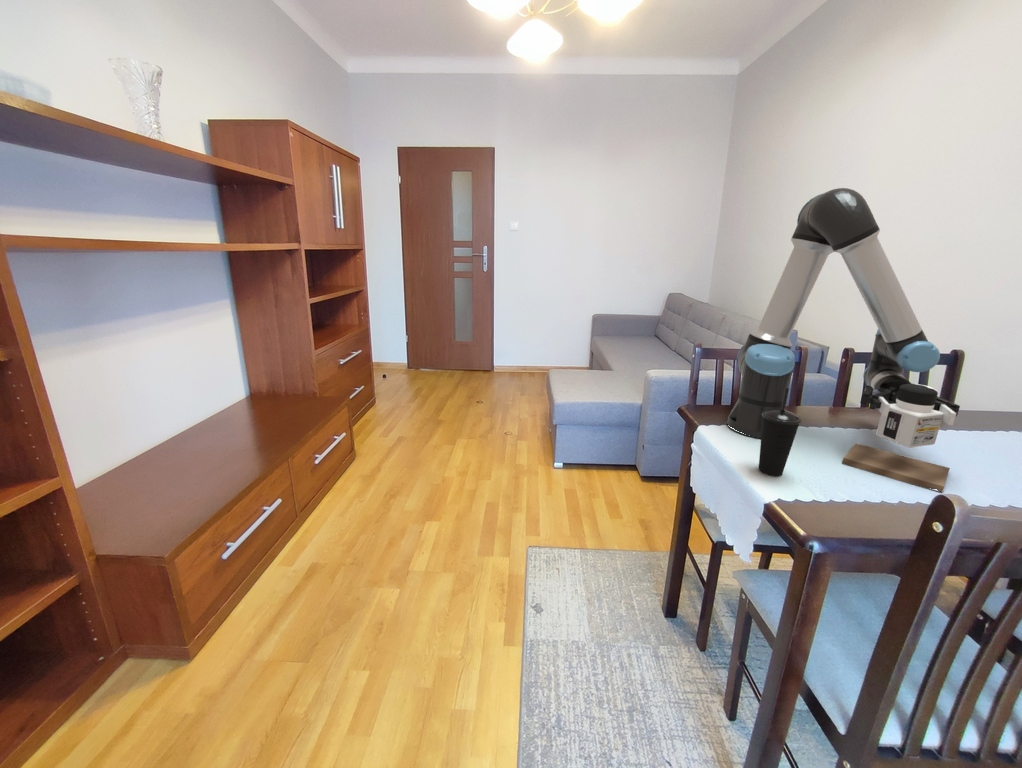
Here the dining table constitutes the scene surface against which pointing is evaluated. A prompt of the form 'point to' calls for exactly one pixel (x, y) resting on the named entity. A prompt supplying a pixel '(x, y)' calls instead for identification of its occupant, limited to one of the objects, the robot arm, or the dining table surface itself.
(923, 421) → the container
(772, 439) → the drinking cup
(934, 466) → the serving board
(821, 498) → the dining table surface
